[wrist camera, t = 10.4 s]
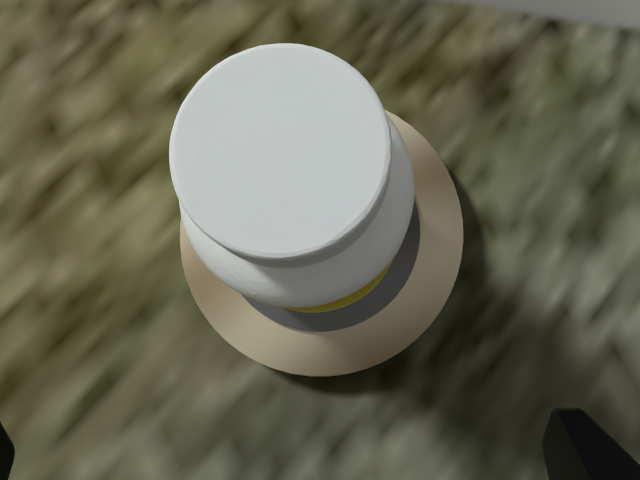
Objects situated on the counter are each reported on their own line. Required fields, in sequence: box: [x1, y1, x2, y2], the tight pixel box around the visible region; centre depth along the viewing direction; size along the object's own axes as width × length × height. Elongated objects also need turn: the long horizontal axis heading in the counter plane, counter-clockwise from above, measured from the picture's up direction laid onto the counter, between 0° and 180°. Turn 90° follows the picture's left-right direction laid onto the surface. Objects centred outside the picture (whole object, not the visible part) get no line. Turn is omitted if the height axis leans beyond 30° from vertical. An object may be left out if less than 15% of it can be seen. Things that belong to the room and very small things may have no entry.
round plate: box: [180, 110, 463, 376], centre depth 20 cm, size 10×10×1 cm
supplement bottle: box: [169, 43, 415, 313], centre depth 14 cm, size 5×5×10 cm
